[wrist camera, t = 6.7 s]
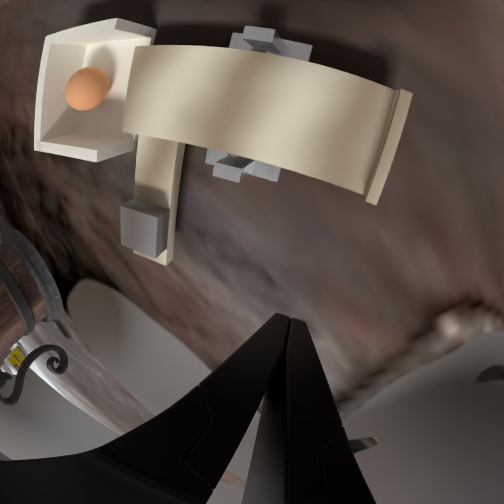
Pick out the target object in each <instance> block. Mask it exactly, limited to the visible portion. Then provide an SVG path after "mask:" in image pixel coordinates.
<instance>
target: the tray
mask: <svg viewBox="0 0 504 504" xmlns="http://www.w3.org/2000/svg"><path fill="white" fill-rule="evenodd" d="M156 31H157V29H154V28H151V27H148V26H145V25H141V24H138V23H135V22H131V21H127V20H124V19H120V18H114V19H108V20H103V21H99V22H94V23H90V24H86V25H82V26H78V27H74V28H71V29H67V30H64V31H61V32H57V33H54V34H51V35H48V36H46V38H45V43H44V48H43V53H42V59H41V65H40V71H39V78H38V86H37V96H36V109H35V130H34V150H36V151H42V152H47V153H53V154H58V155H63V156H68V157H73V158H78V159H83V160H88V161H92V162H99V161H102V160H105V159H108V158H111V157H114V156H117V155H120V154H123V153H127V152H130V151H133V150H136V149H137V140H138V134H132V133H125V132H122V125H123V116H124V108H125V101H126V94H127V87H128V81H129V75H130V70H131V64H132V59H133V55H134V50H135V46H150V45H153V43H154V39H155V35H156ZM85 67H96V68H99V69H101V70H102V71H103V72H104V73H105V74H106V75H107V77H108V81H109V89H108V92H107V95H106V97H105V98H104V100H103V101H102V102H101V103H100V104H99V105H98V106H96V107H94V108H92V109H90V110H83V111H82V110H77V109H75V108H73V107H71V106H70V105H69V103H68V102H67V100H66V96H65V89H66V85H67V83H68V81H69V79H70V78H71V76H72V75H73V74H74V73H75V72H77V71H78V70H80V69H82V68H85Z"/></svg>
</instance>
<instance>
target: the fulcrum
mask: <svg viewBox="0 0 504 504" xmlns="http://www.w3.org/2000/svg"><path fill="white" fill-rule="evenodd" d="M312 47H313V46H312V45H308V44H303V43H299V42H294V41H289V40H284V39H281V37H280V36H279V34H278V33H277V31H276V30H275V29H268V28H261V27H253V26H245V28H244V32H243V33H233V34H232V37H231V41H230V45H229V48H233V49H241V50H249V51H251V50H252V48H256V49H261V50H265V51H266V53H268V54H274V55H279V56H284V57H289V58H294V59H298V60H303V61H307V62H309V59H310V55H311V51H312ZM205 163H208V164H212V165H214V170H213V176H216V177H220V178H223V179H227V180H231V181H235V182H238V183H240V182H241V181H242V180H243V179H245V178H246V177H247V176H248V175H249V174H251V175H254V176H258V177H261V178H265V179H268V180H272V181H275V182H278V179H279V175H280V171H281V167H278V166H275V165H271V164H268V163H264V162H261V161H257V160H253V159H250V158H246V157H242V158H234V157H230V156H228V153H226V152H222V151H218V150H214V149H209V148H208V149H207V155H206V161H205Z"/></svg>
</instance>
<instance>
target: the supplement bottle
mask: <svg viewBox="0 0 504 504" xmlns="http://www.w3.org/2000/svg"><path fill="white" fill-rule="evenodd" d="M27 355H28V353H27V352H26V351H25V350H24V348H23V347H22V346H20V345H18V346H17V347H16V348H15V349H14V350H13V351H12V352H11V353H10V354H9V355H8V356H7V357H6V358H5V360H4V362H5V364H4V365H2V366H1V369H2V370H3V372H7V373H9V374H11V375H12V374H15V375H16V374H17V372H18V369H19V367H20V365H21V363H22V362H23V360H24V359H25V358H26V357H27Z"/></svg>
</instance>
